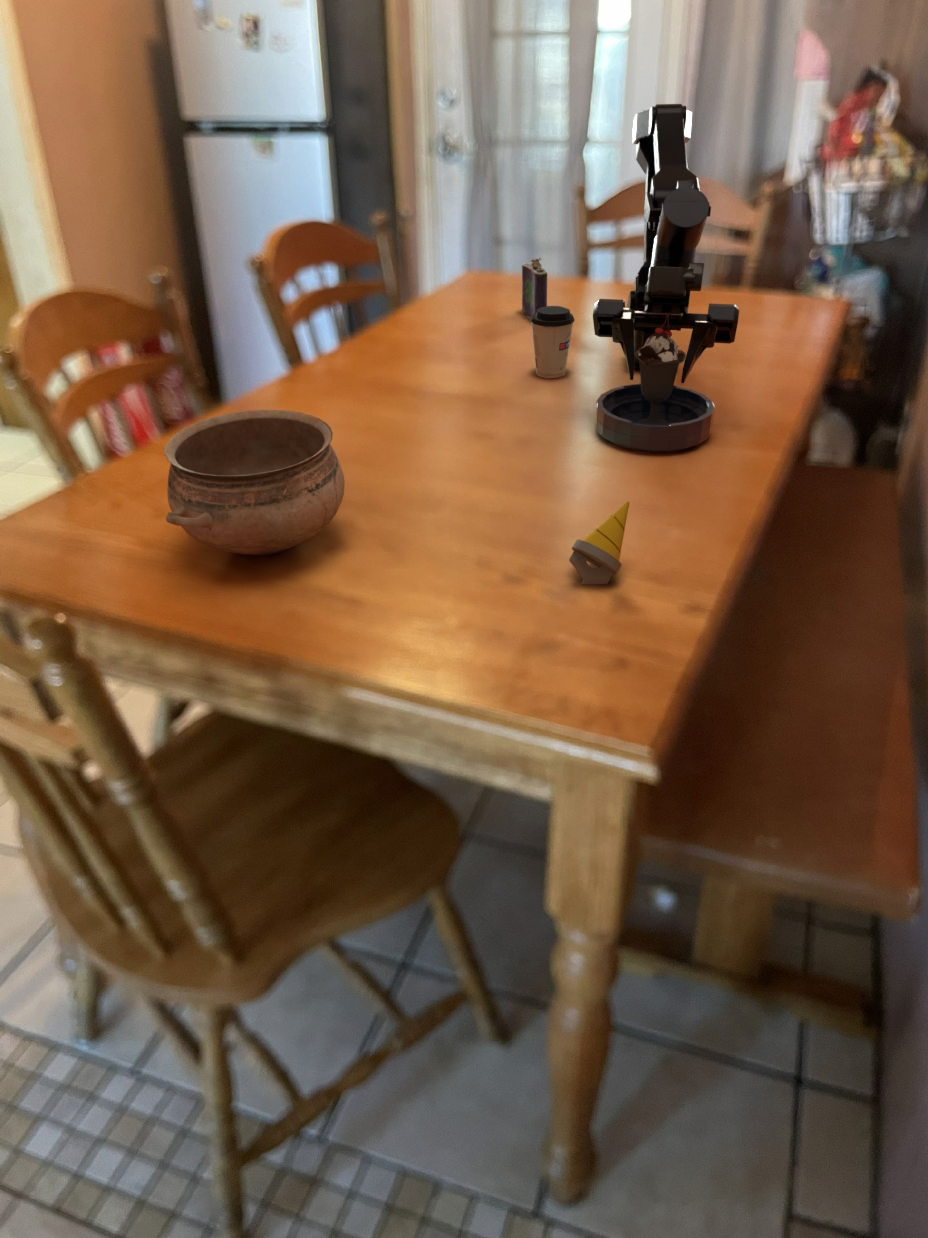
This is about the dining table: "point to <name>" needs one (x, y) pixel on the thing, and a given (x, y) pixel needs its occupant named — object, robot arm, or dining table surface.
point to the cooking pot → (254, 480)
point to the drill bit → (601, 549)
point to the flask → (533, 287)
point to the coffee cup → (551, 340)
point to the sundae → (658, 370)
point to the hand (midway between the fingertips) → (656, 380)
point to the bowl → (680, 409)
